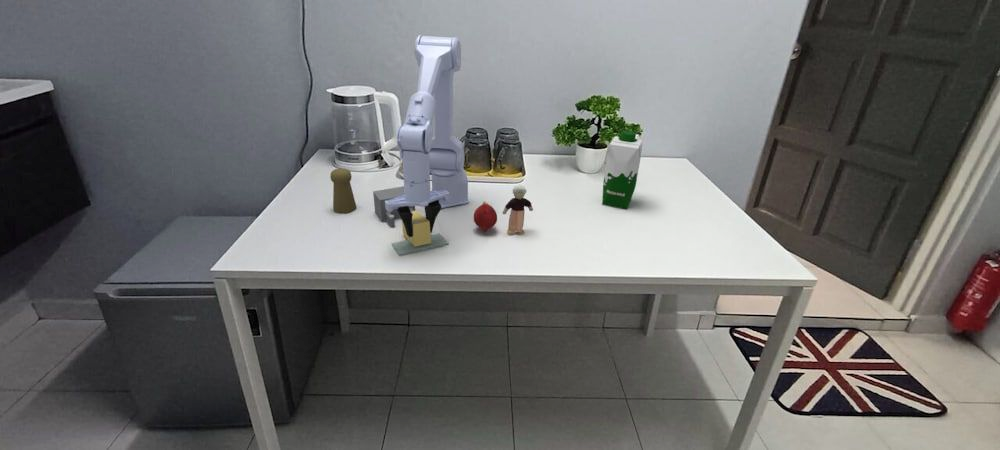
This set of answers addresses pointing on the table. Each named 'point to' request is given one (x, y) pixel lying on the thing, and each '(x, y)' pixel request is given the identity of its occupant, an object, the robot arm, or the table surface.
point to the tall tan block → (419, 230)
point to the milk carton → (621, 170)
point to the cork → (342, 191)
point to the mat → (408, 247)
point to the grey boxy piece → (379, 204)
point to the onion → (485, 216)
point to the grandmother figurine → (517, 210)
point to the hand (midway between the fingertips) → (419, 233)
